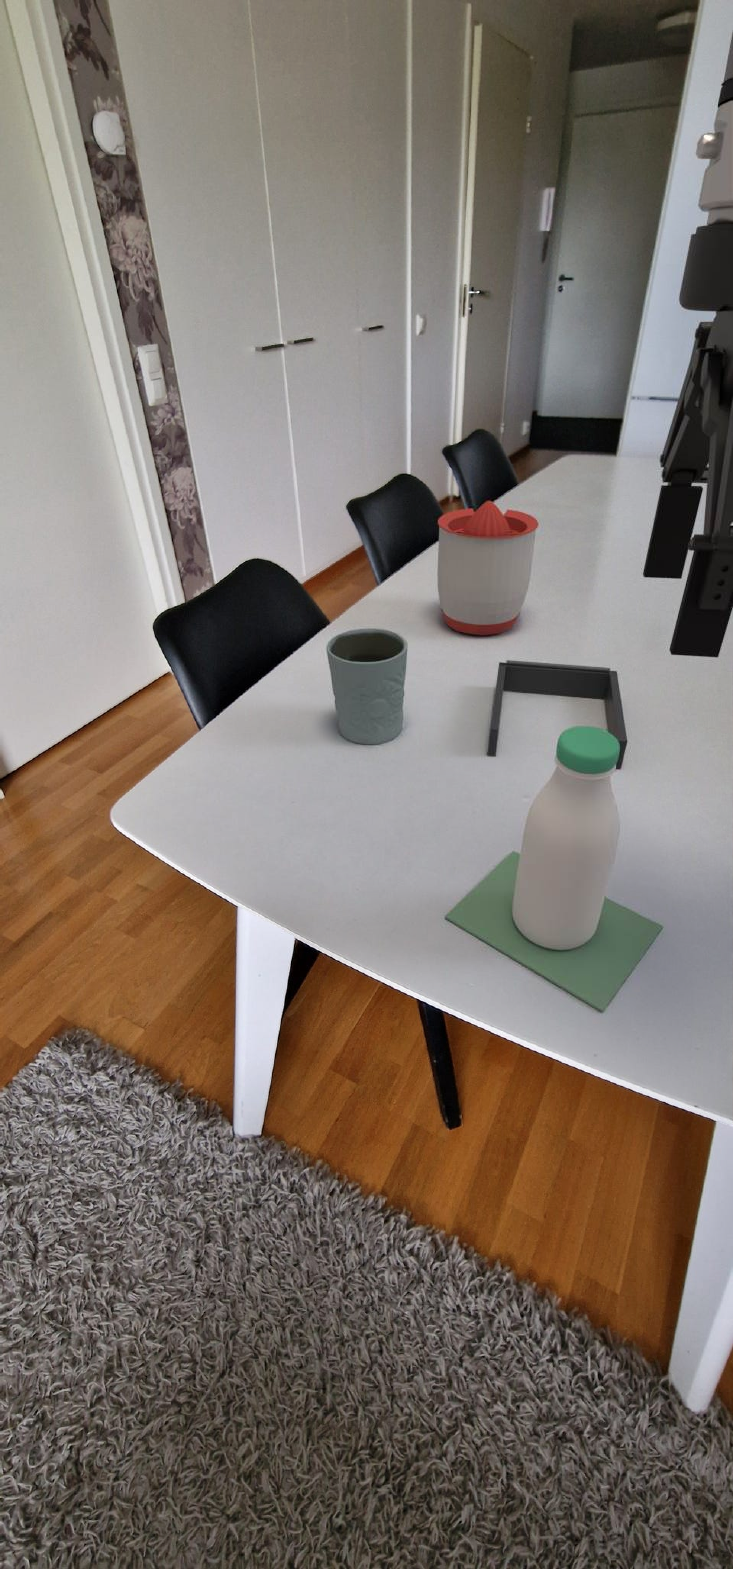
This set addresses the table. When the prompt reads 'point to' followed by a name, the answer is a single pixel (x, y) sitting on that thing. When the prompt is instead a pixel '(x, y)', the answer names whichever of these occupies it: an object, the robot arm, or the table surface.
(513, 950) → the mat
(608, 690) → the dark grey u-shaped frame
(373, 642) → the grey-green cup
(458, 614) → the citrus juicer
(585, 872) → the milk bottle
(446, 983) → the table surface
